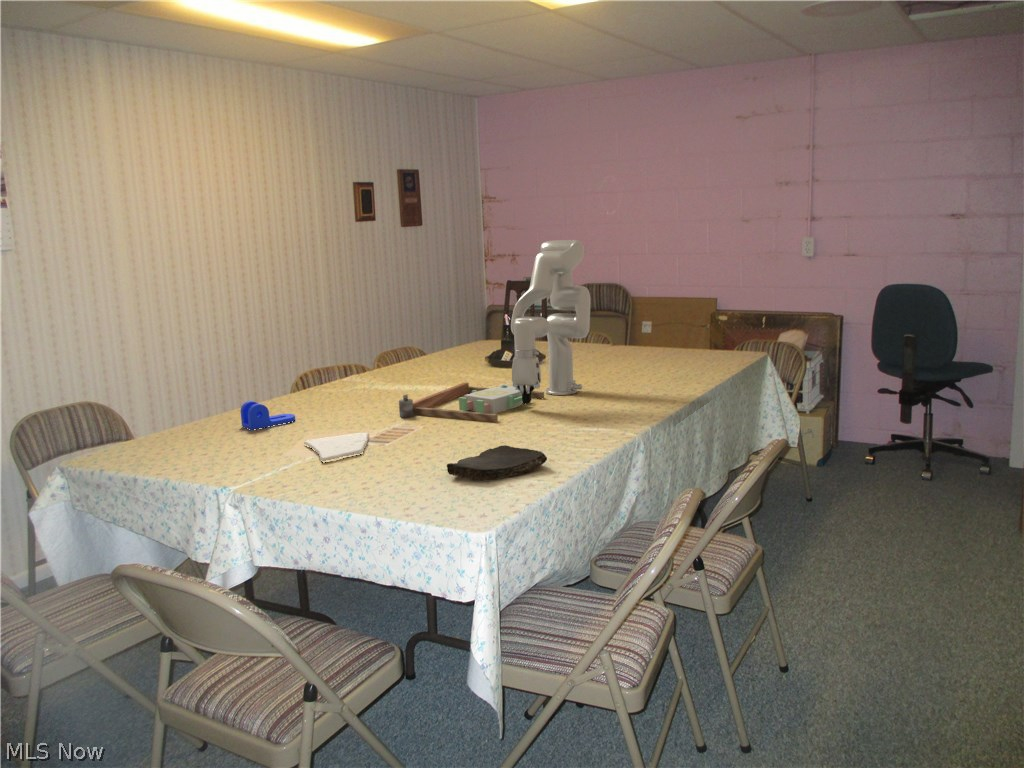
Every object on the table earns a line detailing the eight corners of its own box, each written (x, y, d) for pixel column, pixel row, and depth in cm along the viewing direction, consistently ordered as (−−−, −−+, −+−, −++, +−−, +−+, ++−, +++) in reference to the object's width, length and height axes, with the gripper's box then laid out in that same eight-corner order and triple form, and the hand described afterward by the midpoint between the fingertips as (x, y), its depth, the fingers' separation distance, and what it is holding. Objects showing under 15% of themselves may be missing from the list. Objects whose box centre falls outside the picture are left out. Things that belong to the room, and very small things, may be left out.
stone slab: (440, 488, 230) (488, 489, 215) (435, 465, 229) (483, 465, 215) (506, 464, 248) (554, 463, 233) (502, 442, 247) (550, 441, 233)
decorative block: (496, 382, 324) (536, 387, 311) (497, 398, 326) (536, 404, 313) (450, 394, 305) (490, 400, 292) (451, 411, 307) (491, 418, 294)
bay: (544, 398, 321) (543, 378, 319) (487, 426, 282) (486, 403, 280) (461, 391, 338) (460, 372, 337) (397, 417, 299) (395, 395, 297)
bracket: (251, 431, 287) (249, 406, 285) (242, 427, 294) (239, 402, 292) (299, 421, 299) (297, 397, 297) (289, 418, 305) (287, 394, 303)
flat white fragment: (304, 450, 267) (318, 467, 245) (303, 440, 267) (317, 456, 244) (368, 438, 275) (387, 454, 253) (366, 428, 275) (386, 443, 252)
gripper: (548, 353, 298) (549, 402, 302) (511, 351, 305) (513, 399, 309) (539, 356, 292) (540, 407, 295) (502, 354, 298) (504, 404, 302)
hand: (526, 403), depth 302 cm, fingers closed
